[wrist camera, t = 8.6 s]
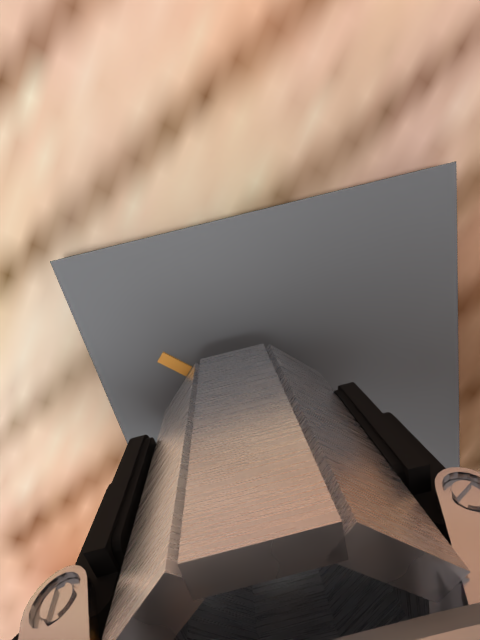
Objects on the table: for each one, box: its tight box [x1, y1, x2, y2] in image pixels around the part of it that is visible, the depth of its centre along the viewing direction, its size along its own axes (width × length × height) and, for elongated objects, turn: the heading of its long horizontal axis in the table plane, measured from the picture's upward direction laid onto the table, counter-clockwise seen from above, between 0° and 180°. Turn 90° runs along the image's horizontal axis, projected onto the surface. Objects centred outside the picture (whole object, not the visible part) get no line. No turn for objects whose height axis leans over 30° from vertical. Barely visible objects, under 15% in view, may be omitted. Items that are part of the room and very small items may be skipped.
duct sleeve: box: [102, 344, 470, 640], centre depth 8 cm, size 7×6×7 cm
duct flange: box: [50, 162, 460, 469], centre depth 12 cm, size 16×16×6 cm
